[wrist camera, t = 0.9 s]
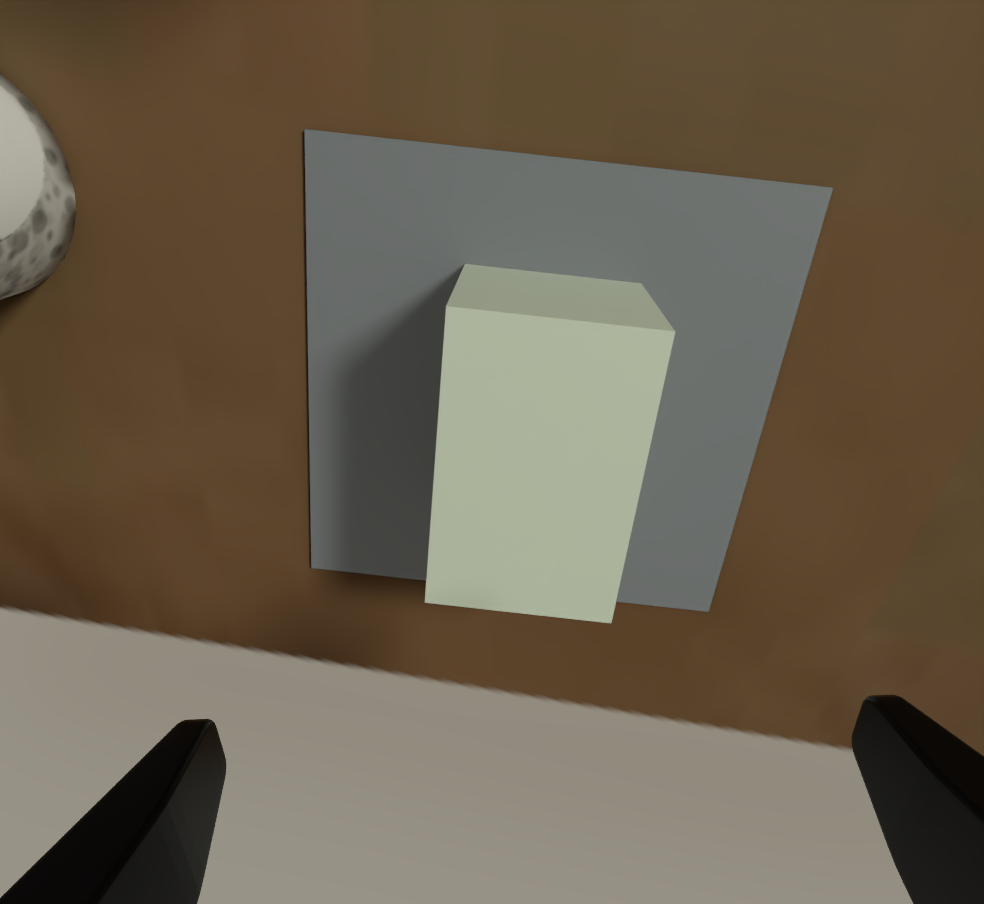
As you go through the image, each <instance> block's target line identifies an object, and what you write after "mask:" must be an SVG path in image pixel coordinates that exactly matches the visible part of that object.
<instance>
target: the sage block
mask: <svg viewBox="0 0 984 904" xmlns="http://www.w3.org/2000/svg"><path fill="white" fill-rule="evenodd" d="M674 336H675V330H674V329H673V327H672V326H671V325H670V323H669V322H668V320H667V319H666V318H665V316H664V315H663V313H662V312H661V310H660V309H659V308H658V306H657V305H656V303H655V302H654V301H653V299H652V298H651V296H650V295H649V293H648V292H647V291H646V289H645V288H644V286H643V285H642V284H641V283H634V282H625V281H616V280H607V279H598V278H589V277H580V276H571V275H562V274H553V273H544V272H535V271H526V270H517V269H508V268H499V267H490V266H481V265H472V264H465V265H464V267H463V269H462V272H461V274H460V276H459V278H458V281H457V283H456V285H455V287H454V289H453V292H452V294H451V296H450V298H449V301H448V303H447V305H446V314H445V328H444V342H443V356H442V370H441V383H440V397H439V411H438V425H437V439H436V453H435V467H434V481H433V495H432V509H431V522H430V536H429V550H428V564H427V578H426V592H425V603H433V604H442V605H451V606H460V607H469V608H478V609H487V610H496V611H505V612H514V613H523V614H532V615H541V616H550V617H559V618H568V619H577V620H586V621H595V622H604V623H611V622H612V617H613V613H614V608H615V604H616V599H617V595H618V590H619V586H620V581H621V577H622V572H623V567H624V563H625V558H626V554H627V549H628V545H629V540H630V536H631V531H632V527H633V522H634V517H635V513H636V508H637V504H638V499H639V495H640V490H641V486H642V481H643V477H644V472H645V467H646V463H647V458H648V454H649V449H650V445H651V440H652V436H653V431H654V427H655V422H656V417H657V413H658V408H659V404H660V399H661V395H662V390H663V386H664V381H665V377H666V372H667V367H668V363H669V358H670V354H671V349H672V345H673V340H674Z"/></svg>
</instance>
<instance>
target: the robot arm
mask: <svg viewBox="0 0 984 904" xmlns="http://www.w3.org/2000/svg"><path fill="white" fill-rule="evenodd" d="M852 748H853V752H854V756H855V758H856V761H857V764H858V766H859V769H860V771H861V774H862V777H863V780H864V783H865V785H866V788H867V791H868V793H869V796H870V799H871V802H872V804H873V807H874V810H875V813H876V815H877V818H878V820H879V823H880V826H881V828H882V832H883V834H884V837H885V840H886V842H887V845H888V848H889V850H890V853H891V855H892V858H893V860H894V863H895V865H896V867H897V869H898V872H899V874H900V876H901V878H902V880H903V883H904V885H905V887H906V889H907V891H908V893H909V895H910V897H911V900H912V902H913V904H984V756H982V755H981V754H980V753H978V752H977V751H975V750H974V749H973V748H971V747H970V746H968V745H967V744H966V743H964V742H963V741H962V740H960V739H959V738H957V737H956V736H955V735H953V734H952V733H950V732H949V731H948V730H946V729H945V728H943V727H942V726H941V725H939V724H938V723H937V722H935V721H934V720H932V719H931V718H930V717H928V716H927V715H925V714H924V713H923V712H921V711H920V710H918V709H917V708H916V707H914V706H913V705H912V704H910V703H909V702H907V701H906V700H904V699H903V698H901V697H899V696H896V695H872V696H868V697H867V698H866V699H865V700H864V701H863V703H862V706H861V709H860V712H859V715H858V718H857V721H856V724H855V727H854V731H853V734H852ZM225 775H226V759H225V755H224V751H223V748H222V745H221V741H220V738H219V734H218V731H217V728H216V725H215V723H214V722H213V721H212V720H209V719H196V720H184V721H182V722H180V723H178V724H177V725H176V726H175V727H174V728H173V729H172V730H171V731H170V732H169V733H168V734H167V735H166V736H165V737H164V738H163V739H162V740H161V741H160V742H159V743H158V744H157V745H156V746H154V747H153V749H152V750H150V751H149V752H148V754H146V755H145V756H144V757H143V759H141V760H140V762H138V763H137V764H136V765H135V766H134V767H133V768H132V769H131V770H130V771H129V772H128V773H127V774H126V775H125V776H124V777H123V778H122V779H121V780H120V781H119V782H118V783H117V784H116V785H115V786H114V787H113V788H112V789H111V790H110V791H109V792H108V793H107V794H106V795H105V796H104V797H103V798H102V799H101V800H100V801H99V802H97V804H96V805H94V806H93V807H92V808H91V810H89V811H88V812H87V813H86V814H85V815H84V816H83V817H82V818H81V819H80V820H79V821H78V822H77V823H76V824H75V825H74V826H73V827H72V828H71V829H70V830H69V831H68V832H67V833H66V834H65V835H64V836H63V837H62V838H61V839H60V840H59V841H58V842H57V843H56V844H55V845H54V846H53V847H52V848H51V849H50V850H49V851H48V852H47V853H46V854H45V855H44V856H43V857H41V858H40V860H38V861H37V862H36V863H35V864H34V865H33V866H32V867H31V868H30V869H29V870H28V871H27V872H26V873H25V874H24V875H23V876H22V877H21V878H20V879H19V880H18V881H17V882H16V883H15V884H14V885H13V886H12V887H11V888H10V889H9V890H8V891H7V892H6V893H5V894H4V895H3V896H2V897H1V898H0V904H197V902H198V898H199V895H200V891H201V887H202V883H203V878H204V874H205V869H206V865H207V859H208V855H209V851H210V846H211V841H212V836H213V832H214V827H215V822H216V818H217V813H218V808H219V804H220V799H221V794H222V789H223V785H224V780H225Z"/></svg>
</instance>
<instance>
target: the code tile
mask: <svg viewBox="0 0 984 904" xmlns="http://www.w3.org/2000/svg"><path fill="white" fill-rule="evenodd" d="M832 190H833V188H831V187H822V186H813V185H804V184H795V183H786V182H777V181H768V180H759V179H750V178H741V177H732V176H723V175H714V174H705V173H696V172H687V171H678V170H669V169H660V168H651V167H642V166H633V165H624V164H615V163H606V162H597V161H588V160H579V159H570V158H561V157H552V156H543V155H534V154H525V153H516V152H507V151H498V150H489V149H480V148H471V147H462V146H453V145H444V144H435V143H426V142H417V141H408V140H399V139H390V138H381V137H372V136H363V135H354V134H345V133H336V132H327V131H318V130H309V129H305V192H306V256H307V320H308V385H309V449H310V513H311V568H317V569H326V570H335V571H344V572H353V573H362V574H371V575H380V576H389V577H398V578H407V579H416V580H425V581H426V578H427V564H428V550H429V536H430V522H431V509H432V495H433V481H434V467H435V453H436V439H437V425H438V411H439V397H440V383H441V370H442V356H443V342H444V328H445V314H446V305H447V303H448V301H449V298H450V296H451V294H452V292H453V289H454V287H455V285H456V283H457V281H458V278H459V276H460V274H461V272H462V269H463V267H464V265H465V264H472V265H481V266H490V267H499V268H508V269H517V270H526V271H535V272H544V273H553V274H562V275H571V276H580V277H589V278H598V279H607V280H616V281H625V282H634V283H641V284H642V285H643V286H644V288H645V289H646V291H647V292H648V293H649V295H650V296H651V298H652V299H653V301H654V302H655V303H656V305H657V306H658V308H659V309H660V310H661V312H662V313H663V315H664V316H665V318H666V319H667V320H668V322H669V323H670V325H671V326H672V327H673V329H674V330H675V336H674V340H673V345H672V349H671V354H670V358H669V363H668V367H667V372H666V377H665V381H664V386H663V390H662V395H661V399H660V404H659V408H658V413H657V417H656V422H655V427H654V431H653V436H652V440H651V445H650V449H649V454H648V458H647V463H646V467H645V472H644V477H643V481H642V486H641V490H640V495H639V499H638V504H637V508H636V513H635V517H634V522H633V527H632V531H631V536H630V540H629V545H628V549H627V554H626V558H625V563H624V567H623V572H622V577H621V581H620V586H619V590H618V595H617V599H616V602H624V603H633V604H642V605H651V606H660V607H669V608H678V609H687V610H696V611H705V612H709V608H710V605H711V602H712V598H713V595H714V591H715V588H716V585H717V581H718V578H719V574H720V571H721V568H722V564H723V561H724V557H725V554H726V551H727V547H728V544H729V540H730V537H731V534H732V530H733V527H734V523H735V520H736V517H737V513H738V510H739V506H740V503H741V500H742V496H743V493H744V489H745V486H746V483H747V479H748V476H749V472H750V469H751V465H752V462H753V459H754V455H755V452H756V448H757V445H758V442H759V438H760V435H761V431H762V428H763V425H764V421H765V418H766V414H767V411H768V408H769V404H770V401H771V397H772V394H773V391H774V387H775V384H776V380H777V377H778V374H779V370H780V367H781V363H782V360H783V357H784V353H785V350H786V346H787V343H788V340H789V336H790V333H791V329H792V326H793V323H794V319H795V316H796V312H797V309H798V306H799V302H800V299H801V295H802V292H803V289H804V285H805V282H806V278H807V275H808V272H809V268H810V265H811V261H812V258H813V255H814V251H815V248H816V244H817V241H818V238H819V234H820V231H821V227H822V224H823V221H824V217H825V214H826V210H827V207H828V204H829V200H830V197H831V193H832Z"/></svg>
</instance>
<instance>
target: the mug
mask: <svg viewBox="0 0 984 904" xmlns="http://www.w3.org/2000/svg"><path fill="white" fill-rule="evenodd" d="M75 216H76V209H75V194H74V189H73V183H72V178H71V175H70V172H69V169H68V166H67V162H66V159H65V156H64V154H63V152H62V150H61V148H60V146H59V144H58V142H57V140H56V138H55V136H54V134H53V132H52V130H51V128H50V127H49V125H48V124H47V123H46V121H45V120H44V119H43V117H42V116H41V115H40V113H39V112H38V111H37V109H36V108H35V107H34V105H33V104H32V103H31V101H30V100H29V99H28V98H27V97H26V96H25V95H24V94H23V93H22V92H21V91H20V90H19V89H18V88H17V87H15V86H14V85H13V84H12V83H11V82H10V81H9V80H8V79H7V78H6V77H5V76H4V75H2V74H1V73H0V300H1V299H4V298H7V297H10V296H13V295H16V294H19V293H22V292H25V291H28V290H30V289H33V288H34V287H35V286H37V285H38V284H40V283H41V282H43V281H44V280H45V279H47V278H48V277H50V276H51V275H52V274H53V272H54V271H55V270H56V268H57V267H58V266H59V264H60V263H61V262H62V260H63V259H64V258H65V256H66V253H67V250H68V248H69V245H70V242H71V239H72V237H73V232H74V224H75Z"/></svg>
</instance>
